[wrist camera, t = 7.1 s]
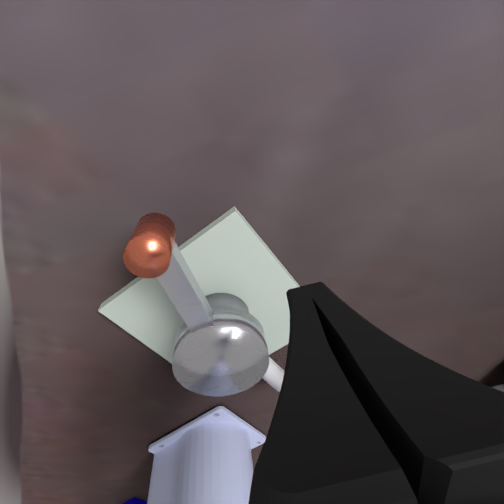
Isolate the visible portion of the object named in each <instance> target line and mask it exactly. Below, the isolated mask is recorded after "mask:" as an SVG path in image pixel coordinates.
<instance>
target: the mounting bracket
mask: <svg viewBox="0 0 504 504" xmlns="http://www.w3.org/2000/svg"><path fill="white" fill-rule="evenodd" d="M123 504H147V502H146V501H143V500H141V499H138V498H136V497H134V498H132V499H130V500H129V501H127V502H125V503H123Z"/></svg>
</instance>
